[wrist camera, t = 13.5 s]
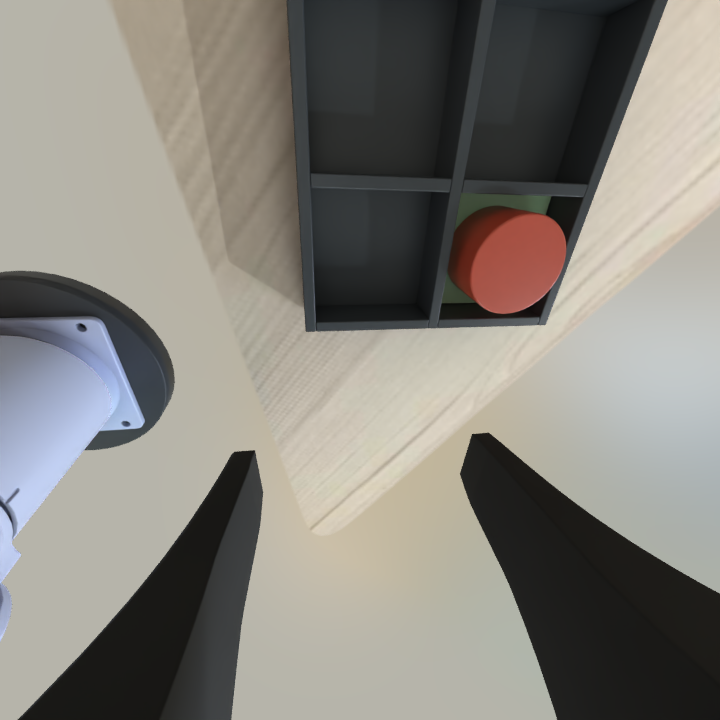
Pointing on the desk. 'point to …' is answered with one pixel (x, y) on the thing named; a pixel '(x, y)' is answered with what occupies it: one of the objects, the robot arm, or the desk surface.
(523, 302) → the cylinder
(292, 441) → the desk surface
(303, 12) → the grid
